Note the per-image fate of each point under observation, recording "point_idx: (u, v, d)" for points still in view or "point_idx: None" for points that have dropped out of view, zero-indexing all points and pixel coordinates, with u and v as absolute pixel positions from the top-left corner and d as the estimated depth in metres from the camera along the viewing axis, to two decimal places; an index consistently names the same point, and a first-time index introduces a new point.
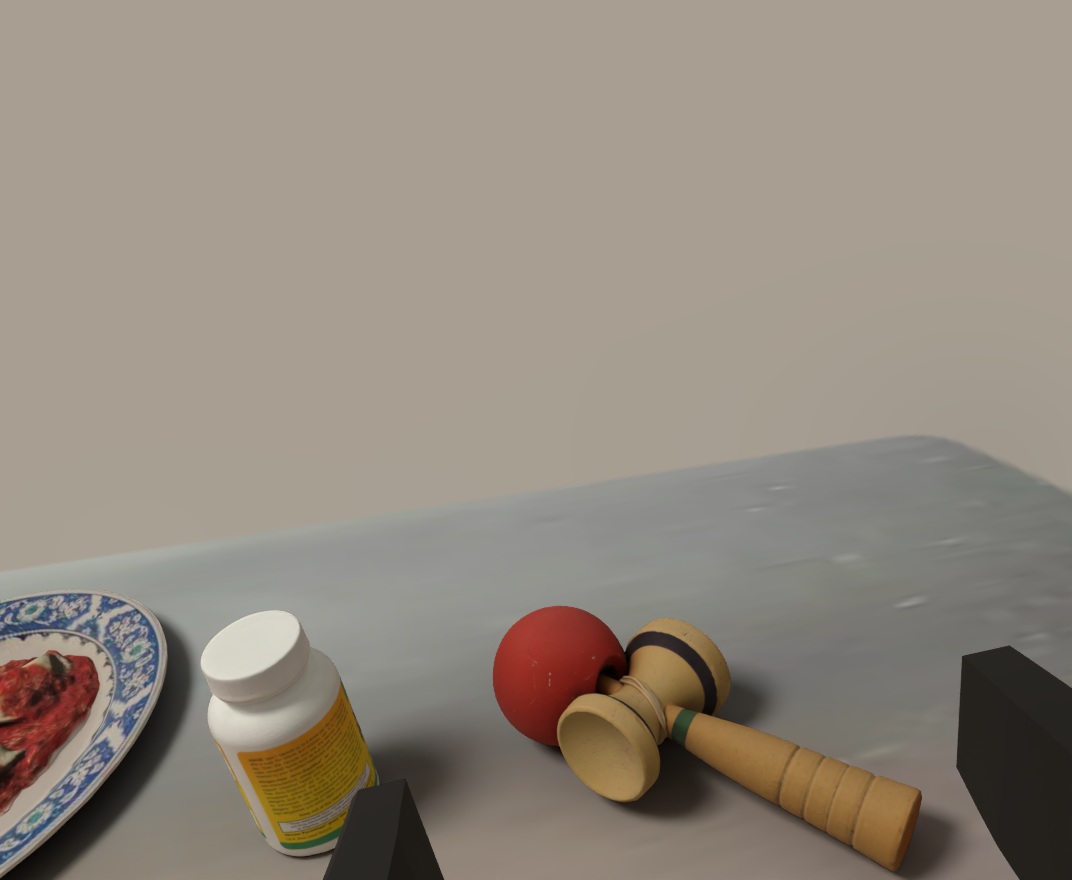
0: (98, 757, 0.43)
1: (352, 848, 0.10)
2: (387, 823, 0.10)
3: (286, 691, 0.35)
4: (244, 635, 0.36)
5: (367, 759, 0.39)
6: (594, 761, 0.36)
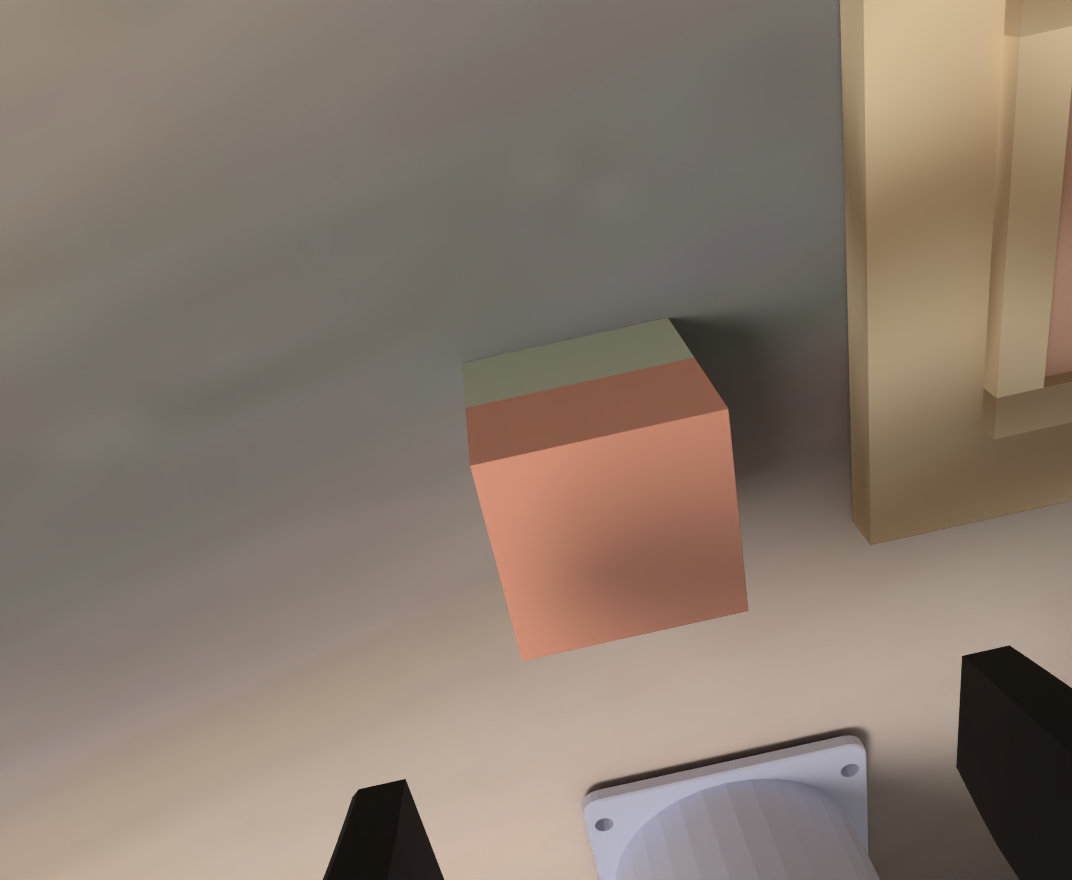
0: None
1: (352, 848, 0.10)
2: (387, 823, 0.10)
3: None
4: None
5: None
6: None
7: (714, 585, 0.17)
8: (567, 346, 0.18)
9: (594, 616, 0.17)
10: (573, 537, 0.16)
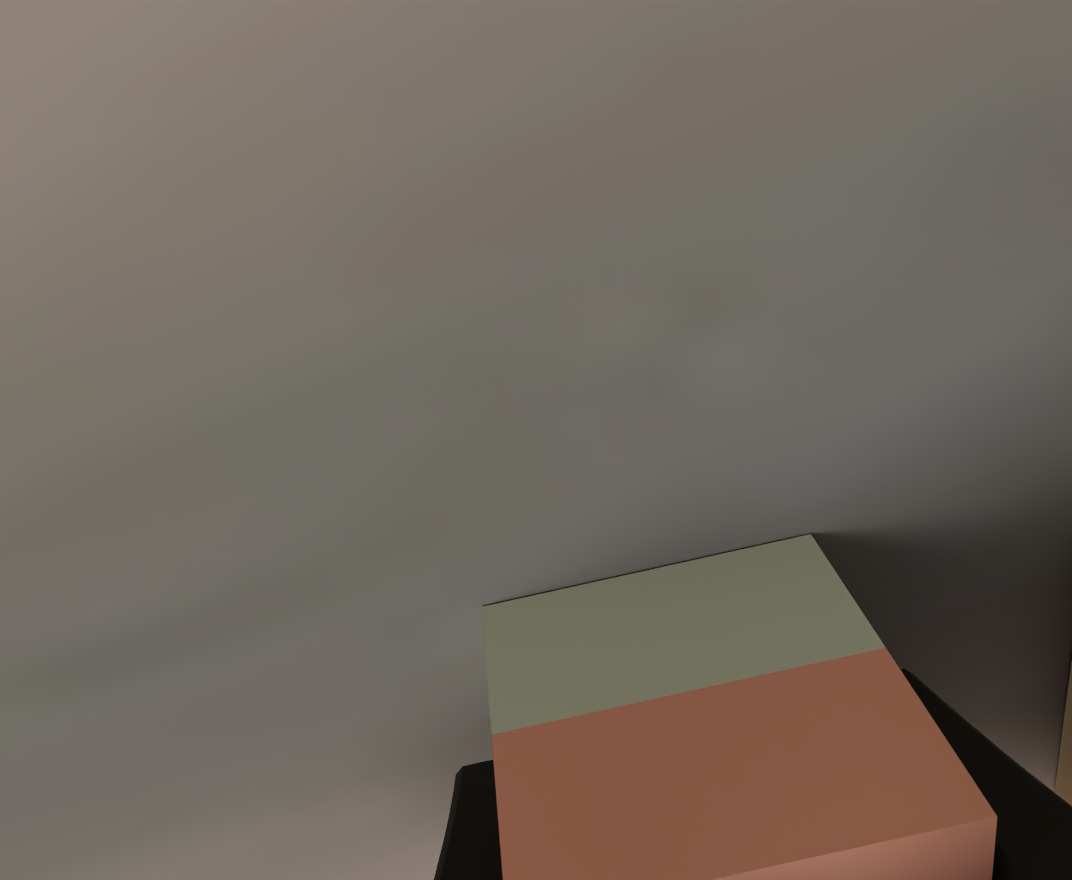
0: None
1: (467, 823, 0.10)
2: None
3: None
4: None
5: None
6: None
7: None
8: (653, 590, 0.11)
9: None
10: None
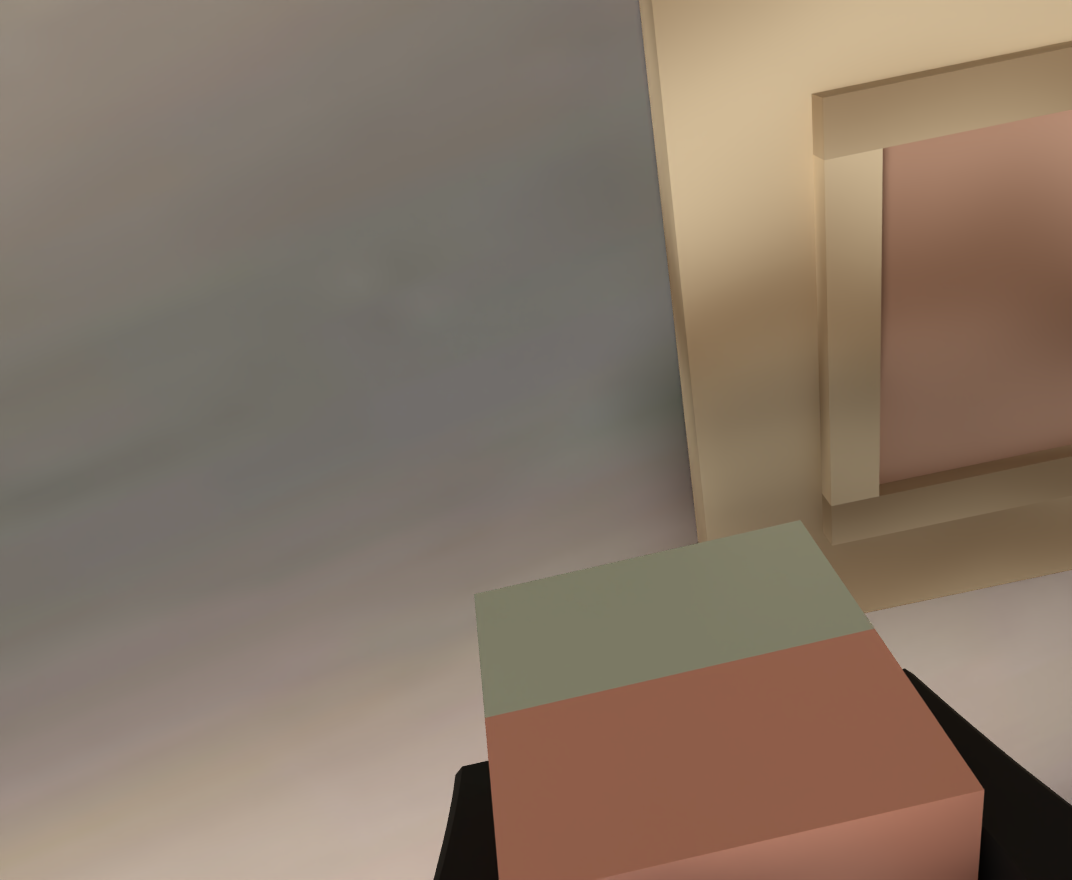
0: None
1: (467, 823, 0.10)
2: None
3: None
4: None
5: None
6: None
7: None
8: (645, 575, 0.11)
9: None
10: None
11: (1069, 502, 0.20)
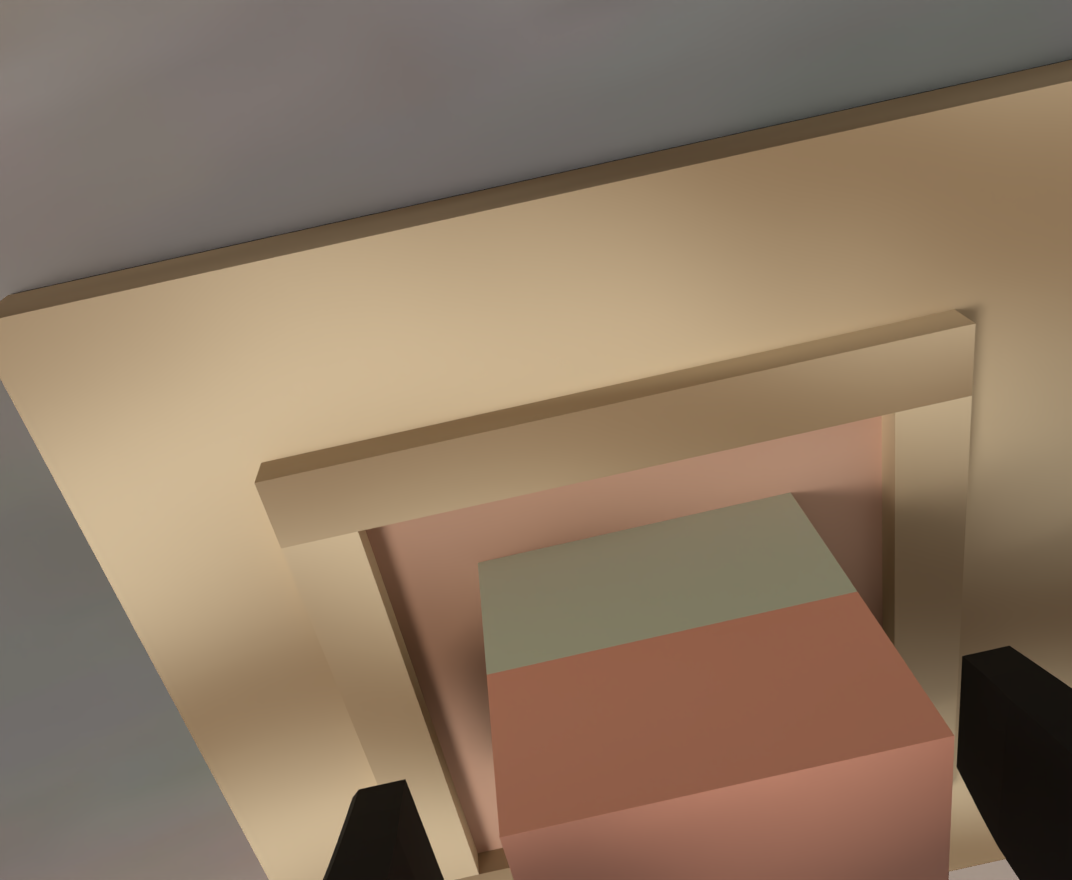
0: None
1: (352, 848, 0.10)
2: (387, 823, 0.10)
3: None
4: None
5: None
6: None
7: None
8: (640, 544, 0.12)
9: None
10: None
11: None
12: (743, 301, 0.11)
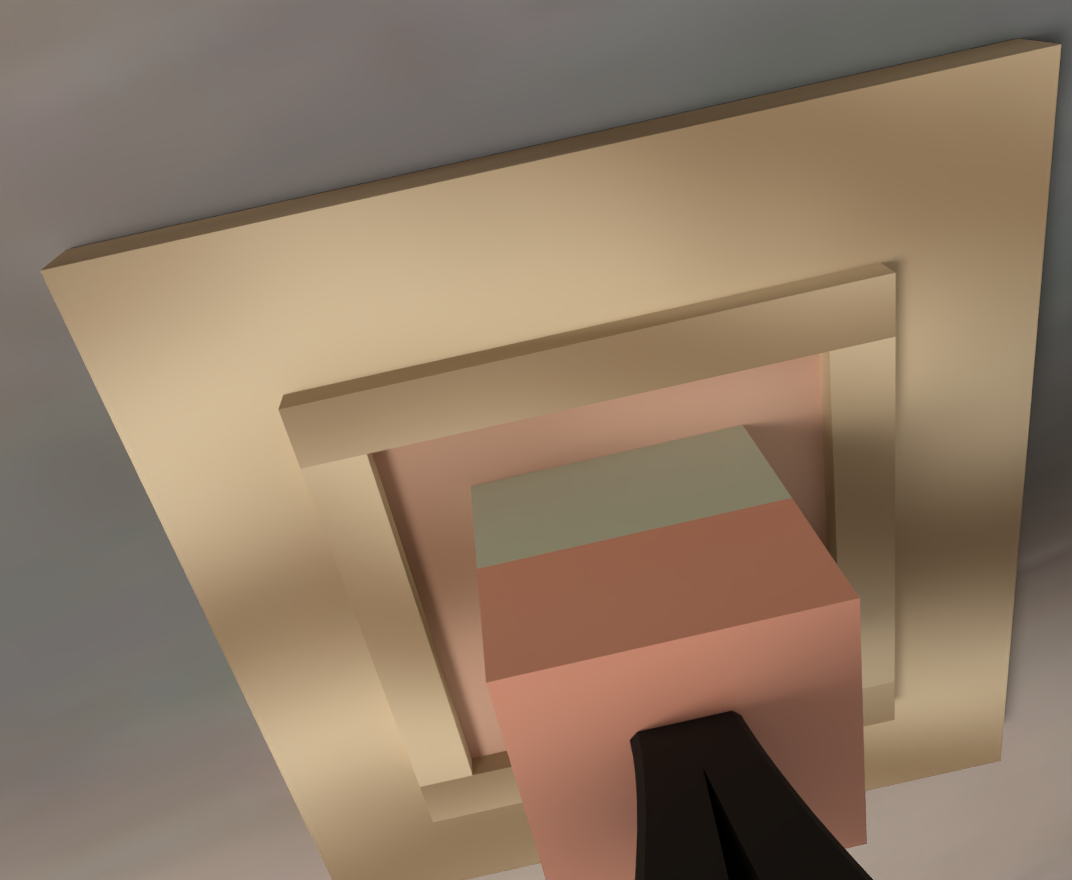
0: None
1: (659, 780, 0.10)
2: (686, 757, 0.10)
3: None
4: None
5: None
6: None
7: (823, 815, 0.12)
8: (611, 468, 0.14)
9: None
10: (631, 766, 0.11)
11: None
12: (697, 254, 0.13)
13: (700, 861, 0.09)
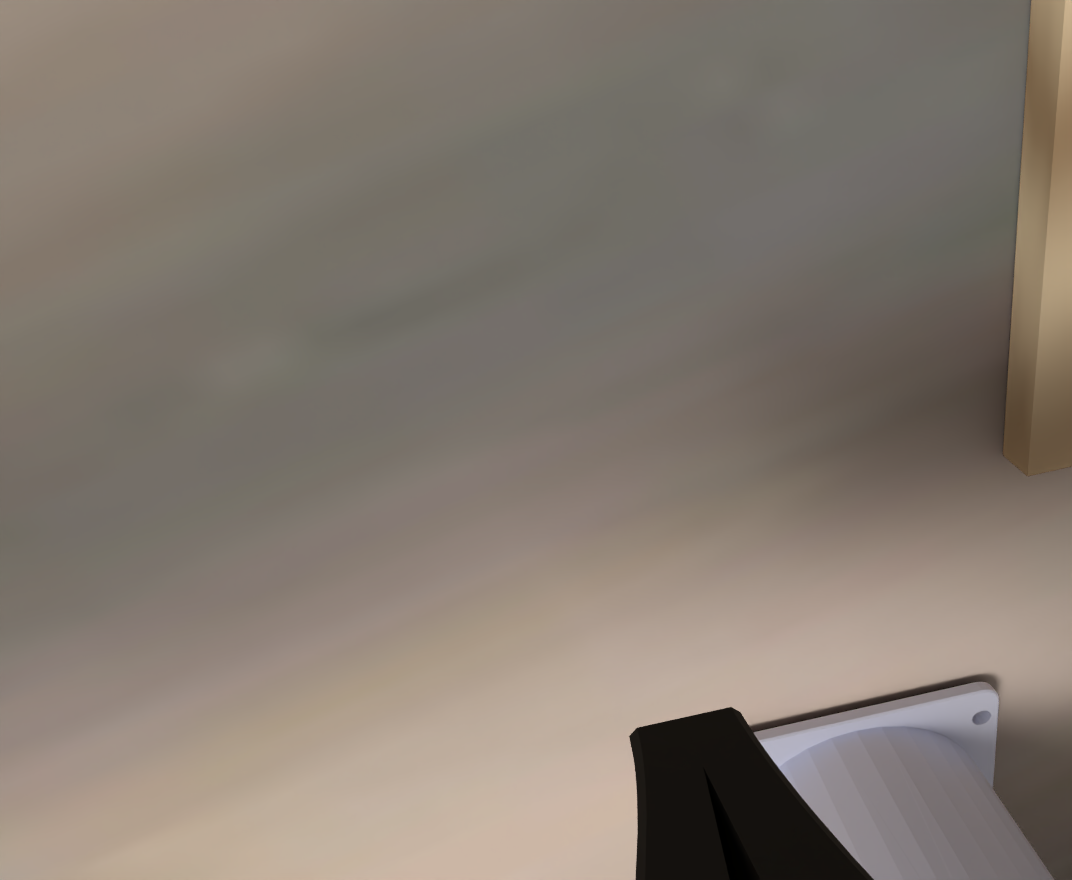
0: None
1: (660, 780, 0.10)
2: (686, 757, 0.10)
3: None
4: None
5: None
6: None
7: None
8: None
9: None
10: None
11: None
12: None
13: (701, 861, 0.09)
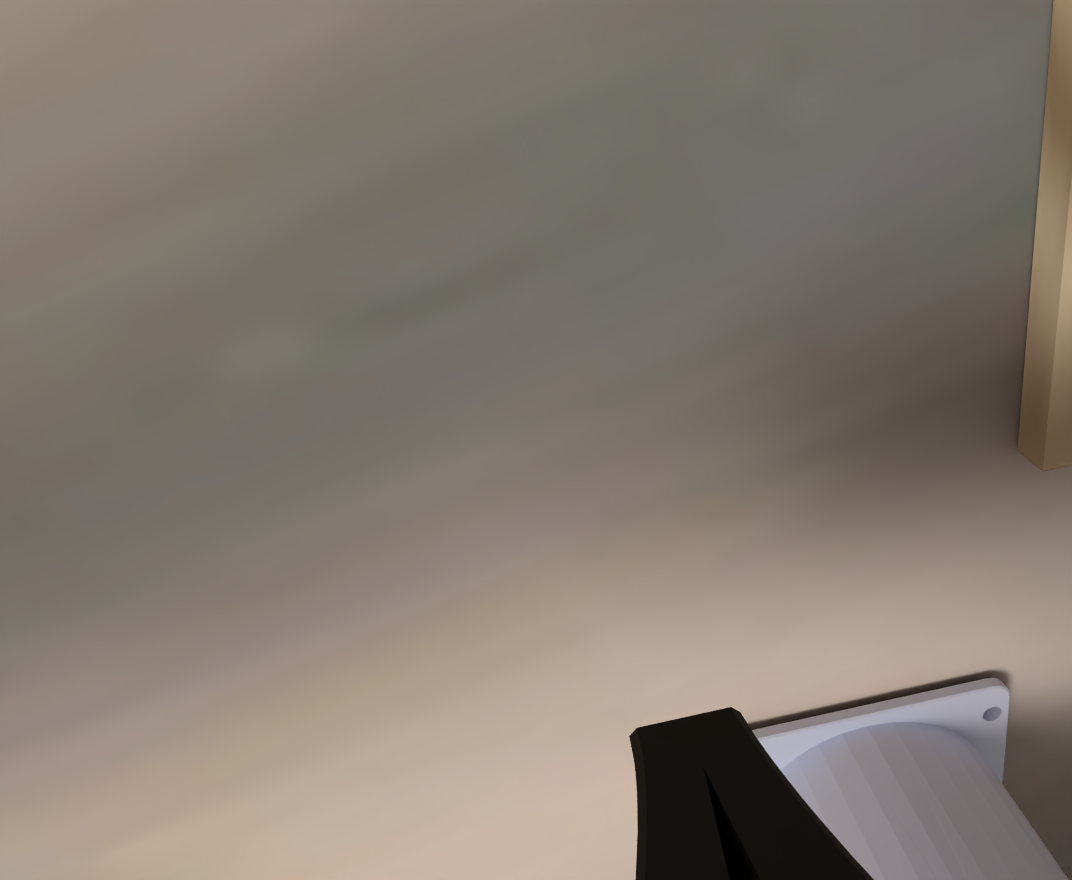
0: None
1: (660, 780, 0.10)
2: (687, 757, 0.10)
3: None
4: None
5: None
6: None
7: None
8: None
9: None
10: None
11: None
12: None
13: (701, 861, 0.09)
